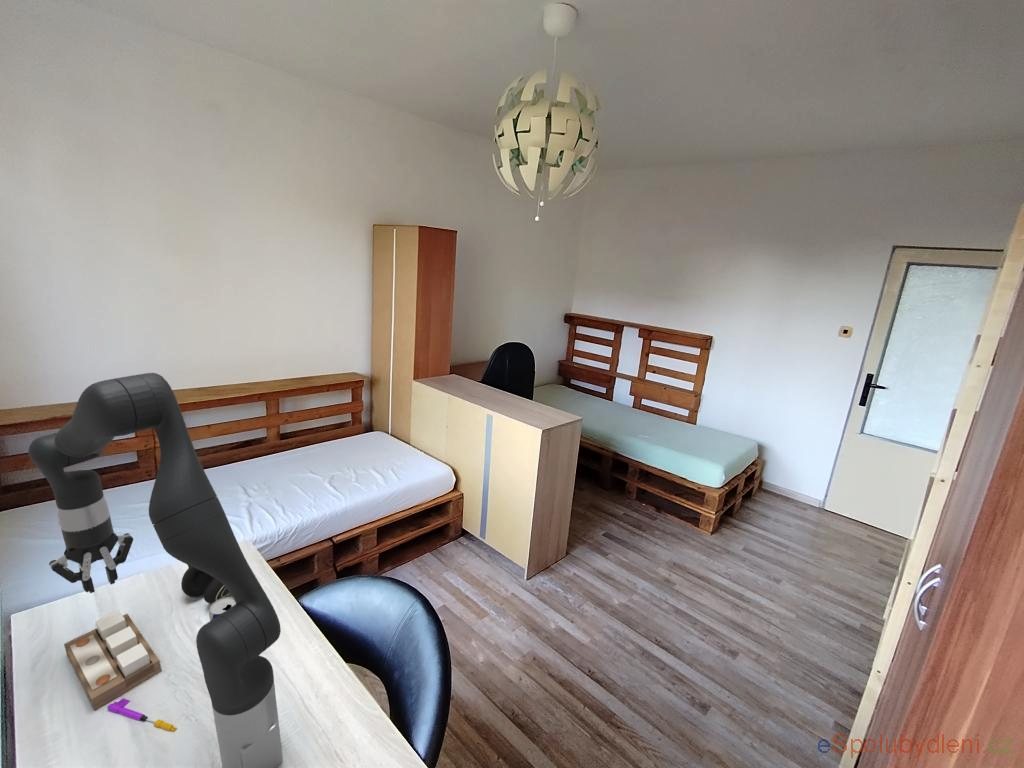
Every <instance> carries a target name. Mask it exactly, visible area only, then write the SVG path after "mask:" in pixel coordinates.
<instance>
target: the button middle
mask: <svg viewBox="0 0 1024 768" xmlns="http://www.w3.org/2000/svg"><path fill="white" fill-rule="evenodd" d="M105 639H106V643H107V647H108V650H109V651H110V653H111V655H112V657H113V658H114V659H115V658H116V656H117V655H119V654H121V653H123V652H125V651H127V650H128V649H130V648H132V647H134V646H136V645H138V642H137V637H136V635H135V633H134V632H133V630H132V629H131V627H130V626H129V627H127V628H125V629H123V630H121V631H119V632H117V633H115V634H113V635H111V636H109V637H107V638H105Z"/></svg>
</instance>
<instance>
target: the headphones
mask: <svg viewBox="0 0 1024 768" xmlns="http://www.w3.org/2000/svg"><path fill="white" fill-rule="evenodd" d="M187 567H188V568H187V569H186V570H185V572H184V574H183V576H182V577H181V583H180V584H181V585H180V586H181V590H182V592H183V594H185V595H186V596H187V597H190V598H200V597H203V599H204V601H205V602H206V603H208V604H210V605H212V604H213V603H214V602H215V601H217V600H219V599H221V598H225V597H229V596H230V595H231V593H230V592H229V590H228V589H227V588H226V587H225V586H224V585H223V584H222V583H221V582H220V581H219V580H217V579H216V578H214V577H212V576H211V575H209V574H207V573H205V572H203V571H201V570H198V569H196V568H194V567H192V566H190V565H187Z"/></svg>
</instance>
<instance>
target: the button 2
mask: <svg viewBox="0 0 1024 768" xmlns="http://www.w3.org/2000/svg"><path fill="white" fill-rule="evenodd" d="M116 658H117V662H118V666H119V668H120V670H121V672H122V673H123V675H124V677H125V678H126V677H128V676H129V675H131V674H133V673H135V672H136V671H138V670H140V669H142V668H143V667H145V666H147V665H149V664H150V660H149V655H148V653H147V651H146V650H145V648H144V647H143V645H142V644H141V643H140V644H138V645H136V646H134V647H132V648H130V649H128V650H127V651H125V652H123V653H121V654H119V655H117V656H116Z"/></svg>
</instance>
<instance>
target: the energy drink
mask: <svg viewBox="0 0 1024 768" xmlns="http://www.w3.org/2000/svg"><path fill="white" fill-rule="evenodd" d="M234 605H236V602H235V600H234V598H233V596H227V597H225V598H221V599H219V600H217V601H215V602H214V603H213V604H210V606H209V611H208V616H209V622H210V621H211V620H213V619H214V618H216V617H217V616H219V615H220V614H222V613H223V612H225V611H226V610H228V609H230V608H231V607H233V606H234Z"/></svg>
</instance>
